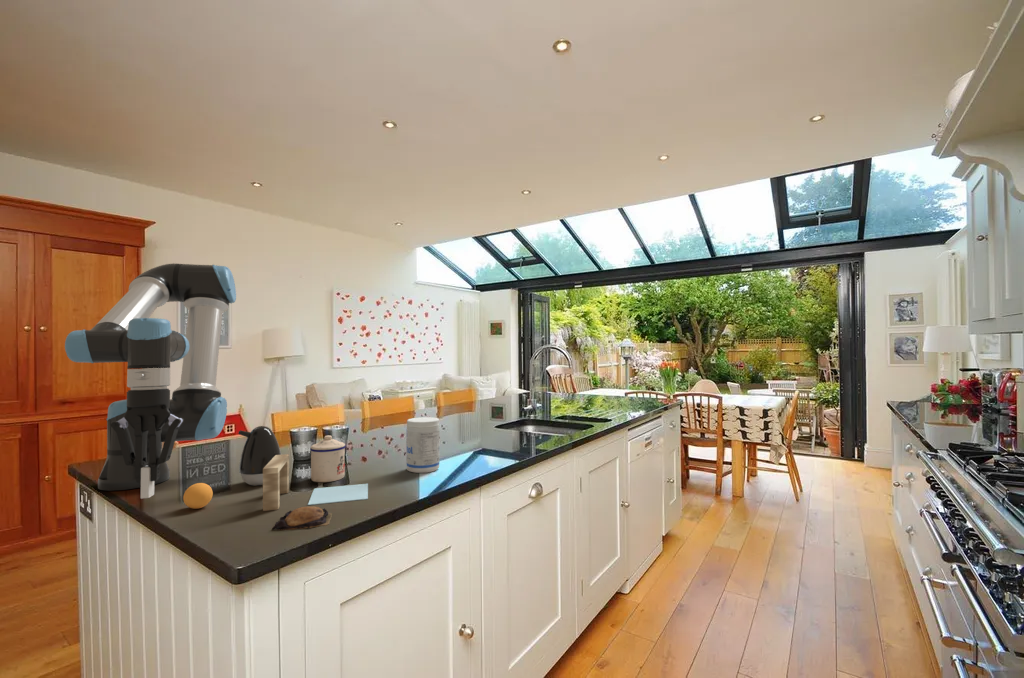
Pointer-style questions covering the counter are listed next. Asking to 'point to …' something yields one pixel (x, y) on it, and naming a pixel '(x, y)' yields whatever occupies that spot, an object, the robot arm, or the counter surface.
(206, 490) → the ball
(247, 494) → the counter surface
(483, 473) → the counter surface
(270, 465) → the bridge
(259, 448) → the pump dispenser
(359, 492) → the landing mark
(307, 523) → the mussel
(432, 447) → the supplement tub
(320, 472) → the teacup with lid
